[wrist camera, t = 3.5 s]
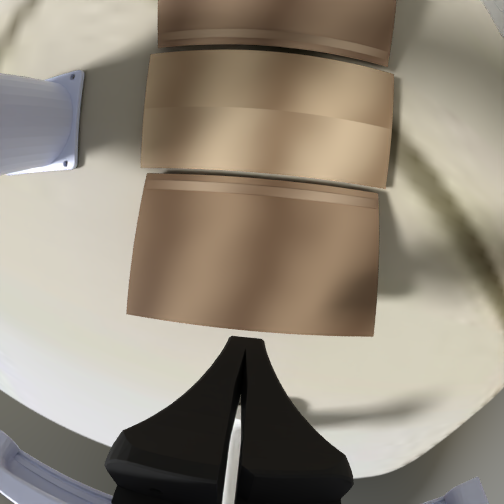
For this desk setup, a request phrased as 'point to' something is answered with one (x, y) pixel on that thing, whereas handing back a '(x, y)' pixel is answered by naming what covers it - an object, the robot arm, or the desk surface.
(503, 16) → the hinge
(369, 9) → the plank
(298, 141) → the floor board
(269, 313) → the plank
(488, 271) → the desk surface
